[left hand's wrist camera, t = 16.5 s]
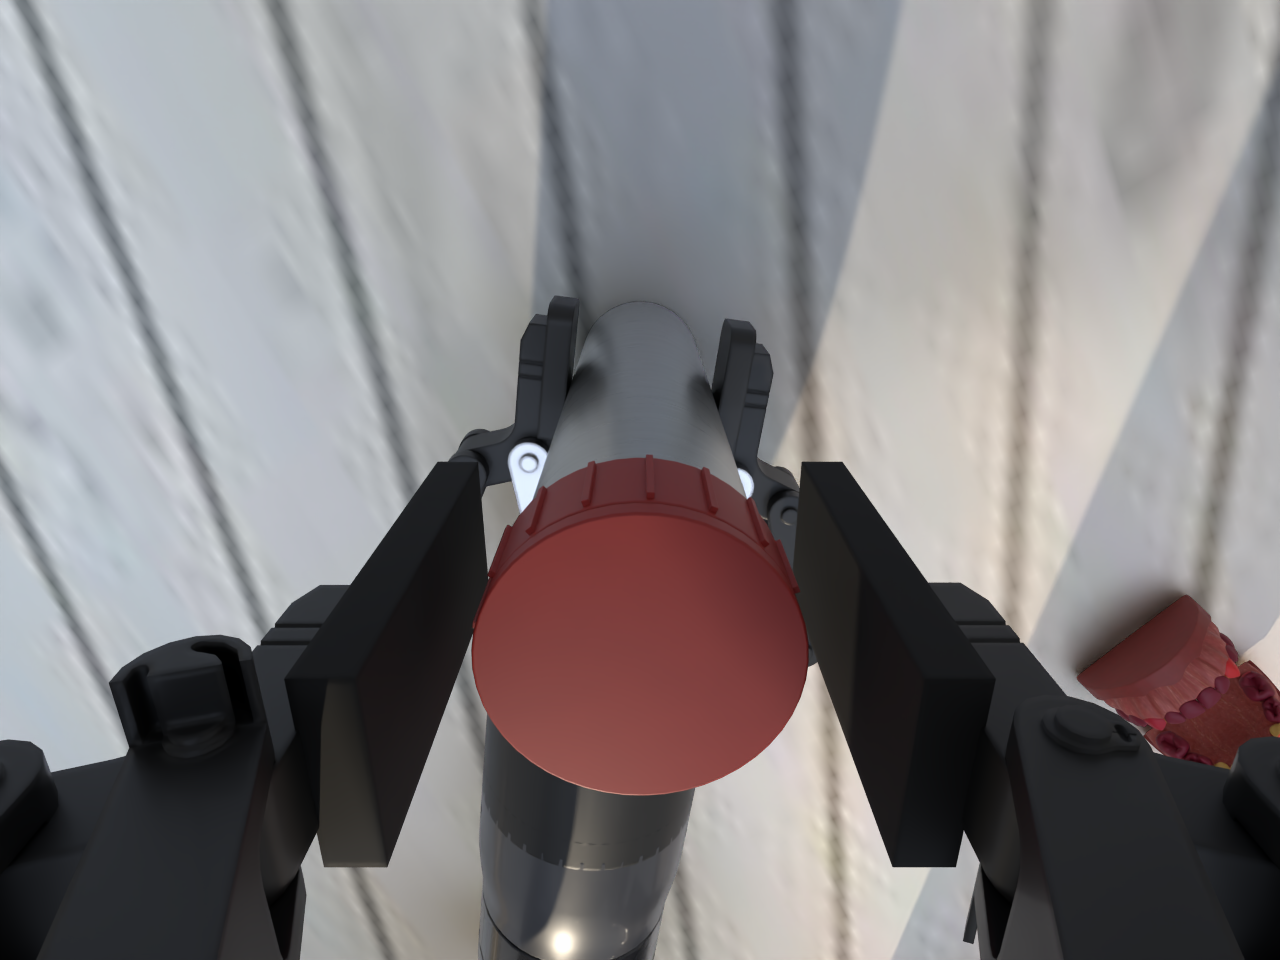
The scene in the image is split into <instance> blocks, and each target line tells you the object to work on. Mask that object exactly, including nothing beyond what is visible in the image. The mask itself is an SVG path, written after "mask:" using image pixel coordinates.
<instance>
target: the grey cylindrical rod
mask: <svg viewBox="0 0 1280 960" xmlns="http://www.w3.org/2000/svg"><path fill="white" fill-rule="evenodd" d="M646 454H648V455H653V458H657V459H663V460H669V461H676V462H679V463H683V464H686V465H690V466H693V467H696V468H698V469H701V470H702V468H703V467H706V468H708V469H709V470H710V474H712V475H714V476H716V477H717V478H719V479H721V480H722V481H724V482H726V483H727V484H729V485H730V486H732V487H733V488H734V489H735V490H737V491H738V492H739V493H740V494H742V495H743V496H744V497H745V498H746V499H747V496H746V493H745V490H744V487H743V484H742V481H741V478H740V475H739V472H738V469H737V466H736V463H735V460H734V457H733V454H732V451H731V448H730V445H729V442H728V439H727V436H726V433H725V430H724V427H723V424H722V421H721V418H720V415H719V412H718V409H717V406H716V403H715V400H714V397H713V394H712V391H711V388H710V385H709V382H708V379H707V376H706V373H705V370H704V367H703V364H702V361H701V358H700V355H699V352H698V349H697V346H696V343H695V341H694V338H693V335H692V333H691V331H690V329H689V328H688V327H687V325H686V324H685V322H684V321H683V320H682V319H681V318H680V317H679V316H678V315H676V314H675V313H674V312H672V311H671V310H669V309H668V308H665V307H663V306H661V305H658V304H655V303H650V302H630V303H625V304H622V305H619V306H617V307H614V308H613V309H611V310H609V311H608V312H606V313H605V314H604V315H602V316H601V317H600V318H599V319H598V320H597V321H596V323H595V324H594V325H593V326H592V328H591V330H590V331H589V333H588V335H587V338H586V340H585V343H584V346H583V349H582V352H581V355H580V358H579V361H578V364H577V367H576V370H575V373H574V376H573V379H572V382H571V385H570V388H569V391H568V394H567V397H566V400H565V403H564V406H563V409H562V412H561V415H560V418H559V421H558V424H557V427H556V430H555V433H554V436H553V439H552V442H551V445H550V448H549V451H548V454H547V457H546V460H545V463H544V466H543V469H542V472H541V475H540V478H539V482H538V485H537V488H536V491H535V494H534V497H533V499H534V498H536V495H537V492H538V489H539V488H541V487H542V486H544V487H545V488H547V487H549V486H550V485H552V484H553V483H555V482H556V481H558V480H559V479H561V478H563V477H565V476H567V475H569V474H571V473H573V472H575V471H577V470H579V469H582V468H585V467H587V466H588V462H591V461H595V463H596V464H597V463H601V462H606V461H611V460H615V459H626V458H646Z"/></svg>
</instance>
